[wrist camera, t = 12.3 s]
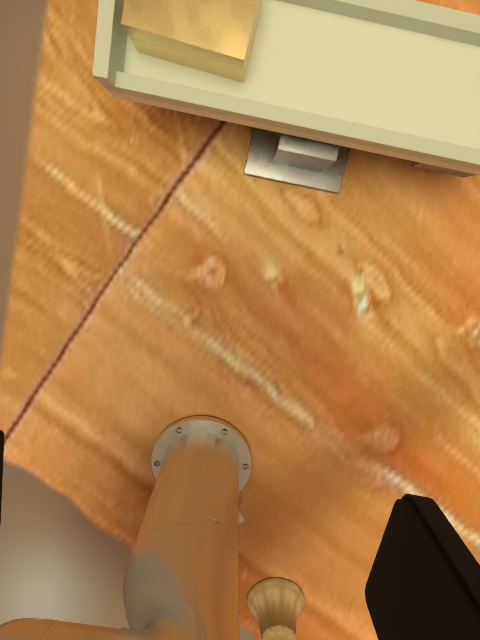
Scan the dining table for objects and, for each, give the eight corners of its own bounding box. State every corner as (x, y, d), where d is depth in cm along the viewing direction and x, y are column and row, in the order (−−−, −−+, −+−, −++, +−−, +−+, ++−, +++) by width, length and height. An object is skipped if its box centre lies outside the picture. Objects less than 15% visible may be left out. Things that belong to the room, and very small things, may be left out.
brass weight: (261, 6, 26) (264, -31, 23) (243, 83, 28) (243, 60, 24) (151, -27, 26) (135, -71, 22) (138, 52, 27) (120, 23, 23)
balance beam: (507, 77, 32) (598, 26, 24) (472, 185, 35) (544, 172, 26) (142, -5, 31) (106, -88, 23) (129, 112, 33) (92, 75, 25)
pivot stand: (373, 44, 36) (409, -5, 28) (336, 193, 40) (360, 185, 32) (273, 21, 36) (281, -35, 28) (244, 174, 39) (245, 161, 31)
